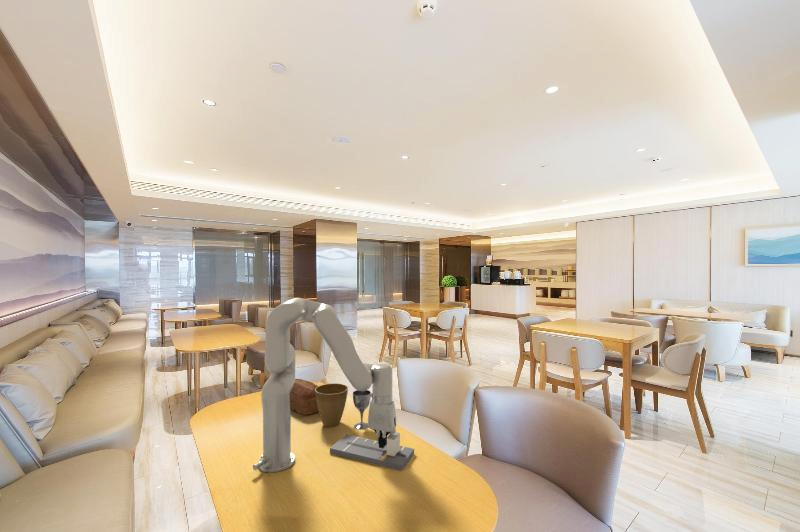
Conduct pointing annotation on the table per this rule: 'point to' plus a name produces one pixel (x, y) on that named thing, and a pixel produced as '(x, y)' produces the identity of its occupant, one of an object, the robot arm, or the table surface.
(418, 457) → the table surface
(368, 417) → the robot arm
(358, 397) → the wine glass
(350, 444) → the console
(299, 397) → the bread
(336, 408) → the plant pot
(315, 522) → the table surface
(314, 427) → the table surface
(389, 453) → the fader tab
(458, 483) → the table surface
